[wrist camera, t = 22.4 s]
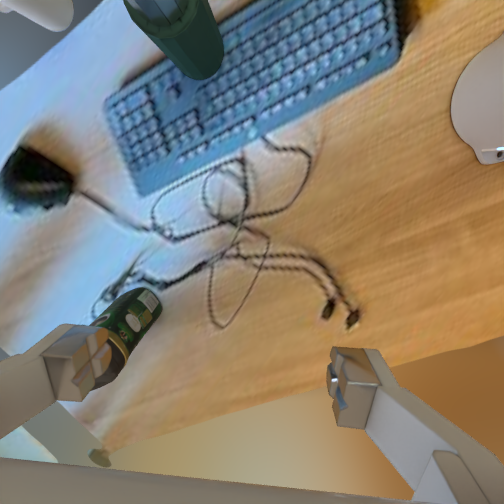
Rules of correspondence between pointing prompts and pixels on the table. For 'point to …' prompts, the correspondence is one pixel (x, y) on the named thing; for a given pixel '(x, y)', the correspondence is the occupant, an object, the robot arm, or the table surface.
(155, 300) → the coffee jar
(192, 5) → the bottle
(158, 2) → the cap
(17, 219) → the table surface
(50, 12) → the mug
